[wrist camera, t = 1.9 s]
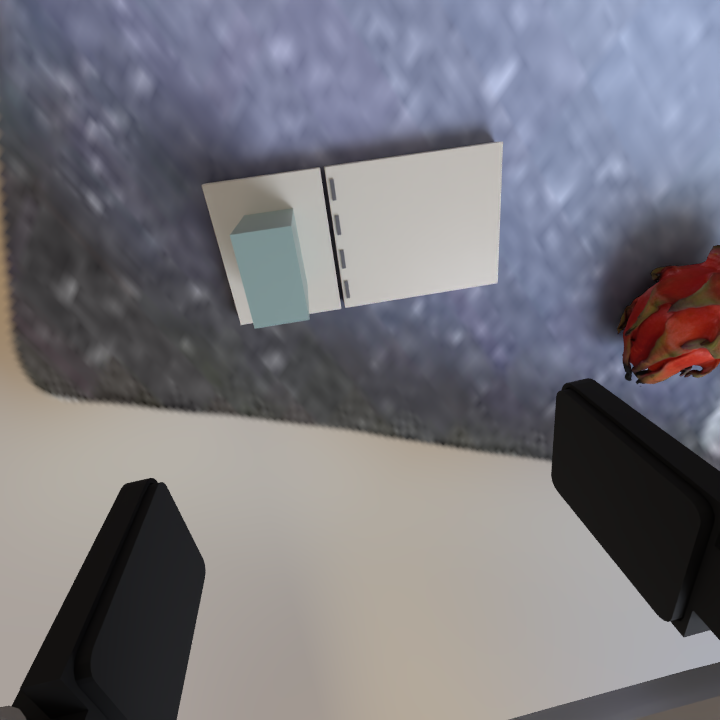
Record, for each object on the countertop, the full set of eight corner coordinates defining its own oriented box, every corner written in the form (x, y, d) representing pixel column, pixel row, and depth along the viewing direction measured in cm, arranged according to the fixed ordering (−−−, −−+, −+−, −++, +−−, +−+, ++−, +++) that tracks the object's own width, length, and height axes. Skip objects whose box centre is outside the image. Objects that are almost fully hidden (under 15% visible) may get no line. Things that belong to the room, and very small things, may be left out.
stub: (205, 183, 25) (174, 197, 19) (318, 166, 26) (325, 175, 19) (243, 318, 30) (227, 366, 23) (340, 303, 30) (350, 346, 24)
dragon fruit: (717, 237, 33) (586, 337, 38) (729, 194, 27) (568, 322, 31) (819, 313, 30) (659, 412, 35) (864, 286, 23) (657, 414, 28)
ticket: (323, 166, 26) (324, 167, 25) (494, 141, 26) (503, 141, 25) (343, 301, 30) (345, 308, 29) (490, 278, 31) (498, 283, 30)
